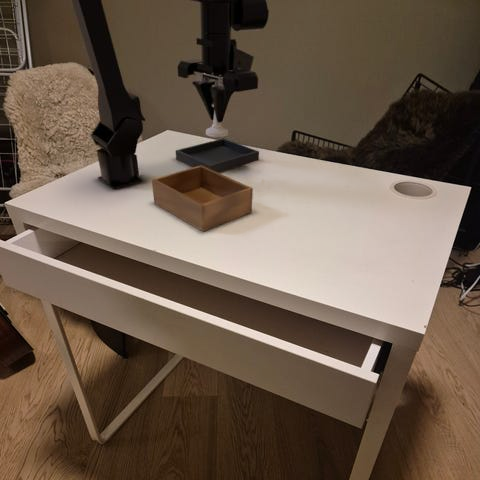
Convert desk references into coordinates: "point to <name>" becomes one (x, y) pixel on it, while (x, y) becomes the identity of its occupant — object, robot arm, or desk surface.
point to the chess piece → (216, 126)
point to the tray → (217, 155)
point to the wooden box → (202, 197)
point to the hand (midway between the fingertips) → (216, 120)
